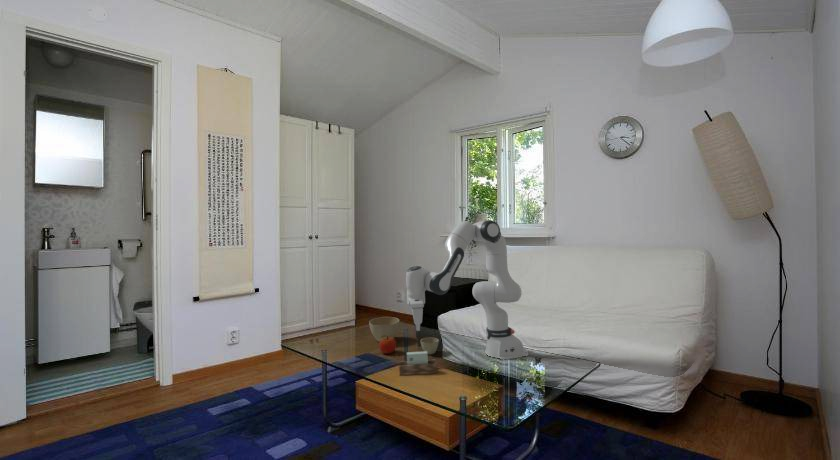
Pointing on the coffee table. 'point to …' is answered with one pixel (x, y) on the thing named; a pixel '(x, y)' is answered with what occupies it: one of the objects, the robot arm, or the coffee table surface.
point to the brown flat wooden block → (417, 368)
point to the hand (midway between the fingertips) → (417, 327)
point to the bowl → (429, 345)
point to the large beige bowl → (384, 327)
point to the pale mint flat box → (417, 358)
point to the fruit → (387, 344)
